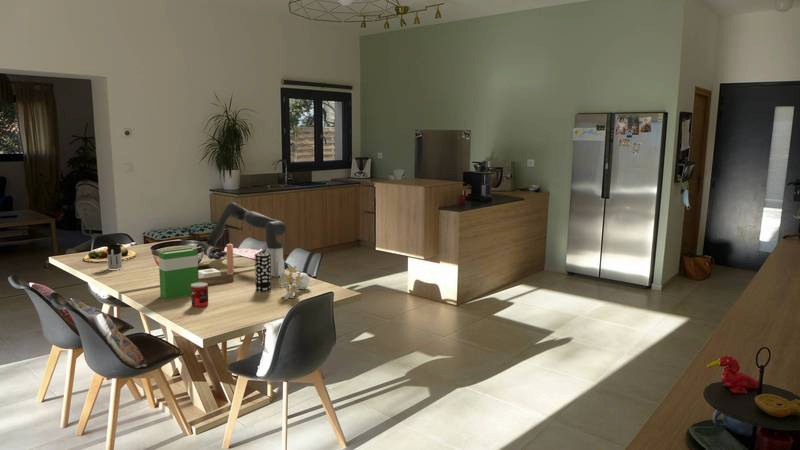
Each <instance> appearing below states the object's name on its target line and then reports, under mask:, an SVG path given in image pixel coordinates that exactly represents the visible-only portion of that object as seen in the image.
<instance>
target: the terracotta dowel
mask: <svg viewBox="0 0 800 450" xmlns="http://www.w3.org/2000/svg"><path fill="white" fill-rule="evenodd" d="M226 252H227V258H226V271H227V273H226V274H230V273H233V274H234V271H235V270H234V245H233V243H227V244H226ZM234 275H235V274H234Z"/></svg>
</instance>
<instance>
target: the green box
mask: <svg viewBox="0 0 800 450" xmlns="http://www.w3.org/2000/svg"><path fill="white" fill-rule="evenodd" d="M198 252H199V251H198V250H197V248H196V249H193V247H186V248H177V249H169V250H162V251H158V269H159V271H158V272H159V290H160V291H159V293H160V297H161V298H163V299H164V300H171V299H177V298H182V297H188V296H191V284H193V283H198V282H199V276H198V270H199V254H198Z"/></svg>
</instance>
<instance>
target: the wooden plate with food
mask: <svg viewBox="0 0 800 450" xmlns="http://www.w3.org/2000/svg"><path fill="white" fill-rule="evenodd" d="M107 253H108V250H107V247H105V248H102V249H100V250H98V251H97V250H96V249H95V250H91V251H89V253H87V254H86V255H85V256H84V257H83V260H84V259H85V260H88V261H99V262H107V261H108V255H107ZM121 253H122V260H124V259H128V258H131V257H134V256H135V255H136V256H137V253H136V252H135V251H133V250H128V248H127V247H125V246H121ZM136 256H135V257H136ZM135 257H134V258H135Z"/></svg>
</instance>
